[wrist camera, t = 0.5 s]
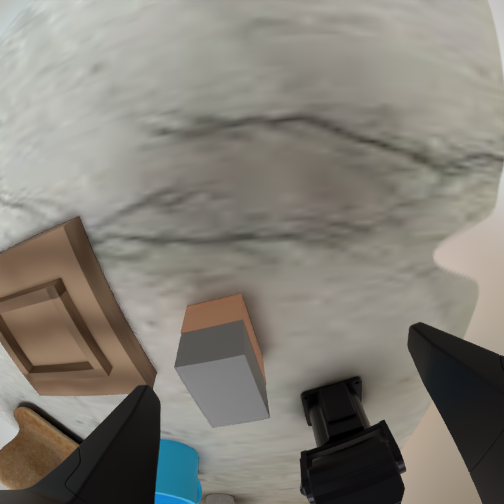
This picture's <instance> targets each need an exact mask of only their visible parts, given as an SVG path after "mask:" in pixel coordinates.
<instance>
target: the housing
mask: <svg viewBox="0 0 504 504" xmlns="http://www.w3.org/2000/svg"><path fill="white" fill-rule="evenodd" d="M174 368H175V370H176V371H177V373H178V375H179V376H180V378H181V380H182V381H183V383H184V385H185V386H186V388H187V390H188V391H189V393H190V394H191V396H192V398H193V399H194V401H195V402H196V404H197V405H198V407H199V409H200V410H201V412H202V413H203V415H204V416H205V418H206V419H207V421H208V422H209V424H210V425H211V426H212V428H213V427H220V426H228V425H234V424H241V423H247V422H252V421H258V420H263V419H268V418H270V416H269V408H268V400H267V393H266V380H265V373H264V365H263V358H262V354H261V351H260V348H259V345H258V342H257V339H256V336H255V333H254V330H253V327H252V324H251V321H250V318H249V315H248V312H247V309H246V306H245V302H244V299H243V296H242V293H241V294H237V295H233V296H229V297H224V298H220V299H216V300H212V301H208V302H203V303H199V304H195V305H190V306H187V308H186V312H185V316H184V321H183V325H182V329H181V338H180V343H179V348H178V352H177V357H176V362H175V367H174Z"/></svg>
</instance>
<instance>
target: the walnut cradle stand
mask: <svg viewBox="0 0 504 504" xmlns="http://www.w3.org/2000/svg"><path fill="white" fill-rule="evenodd" d="M0 342H1V344H2V345H3V347H4V348H5V350H6V351H7V353H8V354H9V356H10V357H11V358H12V360H13V361H14V363H15V364H16V365H17V367H18V368H19V370H20V371H21V372H22V374H23V375H24V376H25V378H26V379H27V380H28V381H29V383H30V384H31V385H32V386H33V388H34V389H35V390H36V391H37V393H38V394H39V395H41V396H95V395H116V394H130V393H131V392H132V391H133V390H134V389H135V388H136V387H137V386H138V385H145V384H148V385H150V386H151V387H152V389H153V386H154V382H155V378H156V374H157V372H156V371H155V369H154V368H153V366H152V364H151V363H150V361H149V359H148V358H147V356H146V354H145V353H144V351H143V349H142V348H141V346H140V344H139V343H138V341H137V339H136V337H135V336H134V334H133V332H132V330H131V328H130V327H129V325H128V323H127V321H126V319H125V317H124V315H123V313H122V312H121V310H120V308H119V306H118V304H117V302H116V300H115V298H114V296H113V294H112V292H111V290H110V288H109V286H108V283H107V281H106V279H105V277H104V275H103V273H102V271H101V268H100V266H99V264H98V262H97V259H96V257H95V255H94V252H93V250H92V248H91V245H90V243H89V241H88V238H87V236H86V233H85V231H84V228H83V225H82V223H81V220H80V217H79V216H78V217H76V218H74V219H71V220H69V221H67V222H64V223H62V224H60V225H57V226H55V227H53V228H51V229H48V230H46V231H44V232H42V233H40V234H37V235H35V236H33V237H31V238H29V239H27V240H25V241H23V242H21V243H19V244H17V245H15V246H13V247H11V248H9V249H7V250H5V251H3V252H1V253H0Z"/></svg>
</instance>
